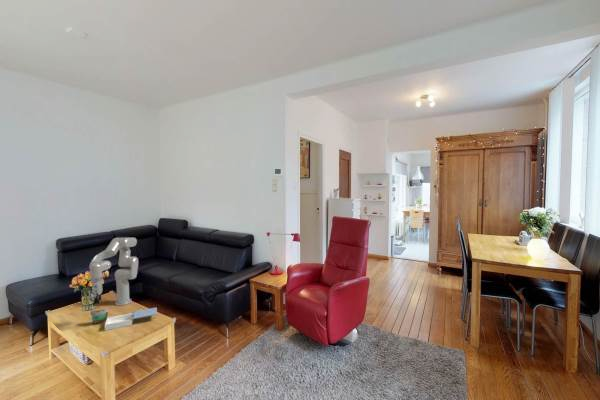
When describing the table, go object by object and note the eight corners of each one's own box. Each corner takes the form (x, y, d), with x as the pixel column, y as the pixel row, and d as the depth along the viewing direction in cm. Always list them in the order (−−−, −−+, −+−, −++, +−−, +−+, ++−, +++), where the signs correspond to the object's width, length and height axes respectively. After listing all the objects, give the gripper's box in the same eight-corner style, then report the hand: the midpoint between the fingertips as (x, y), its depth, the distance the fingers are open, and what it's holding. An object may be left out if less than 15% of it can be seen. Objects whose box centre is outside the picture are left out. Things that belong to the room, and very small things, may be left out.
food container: (87, 326, 210) (87, 313, 209) (91, 322, 216) (90, 310, 215) (106, 324, 213) (105, 311, 212) (109, 320, 219) (108, 308, 218)
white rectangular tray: (107, 323, 215) (107, 317, 215) (133, 318, 223) (133, 312, 222) (104, 330, 204) (104, 325, 204) (132, 325, 212) (131, 319, 211)
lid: (132, 312, 222) (132, 309, 222) (156, 308, 230) (156, 305, 230) (131, 319, 211) (131, 316, 211) (156, 314, 219) (156, 311, 219)
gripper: (100, 282, 206) (101, 305, 207) (104, 275, 221) (105, 296, 223) (87, 284, 203) (89, 307, 204) (93, 276, 218) (94, 298, 219)
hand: (97, 301), depth 213 cm, fingers open, 6 cm apart
